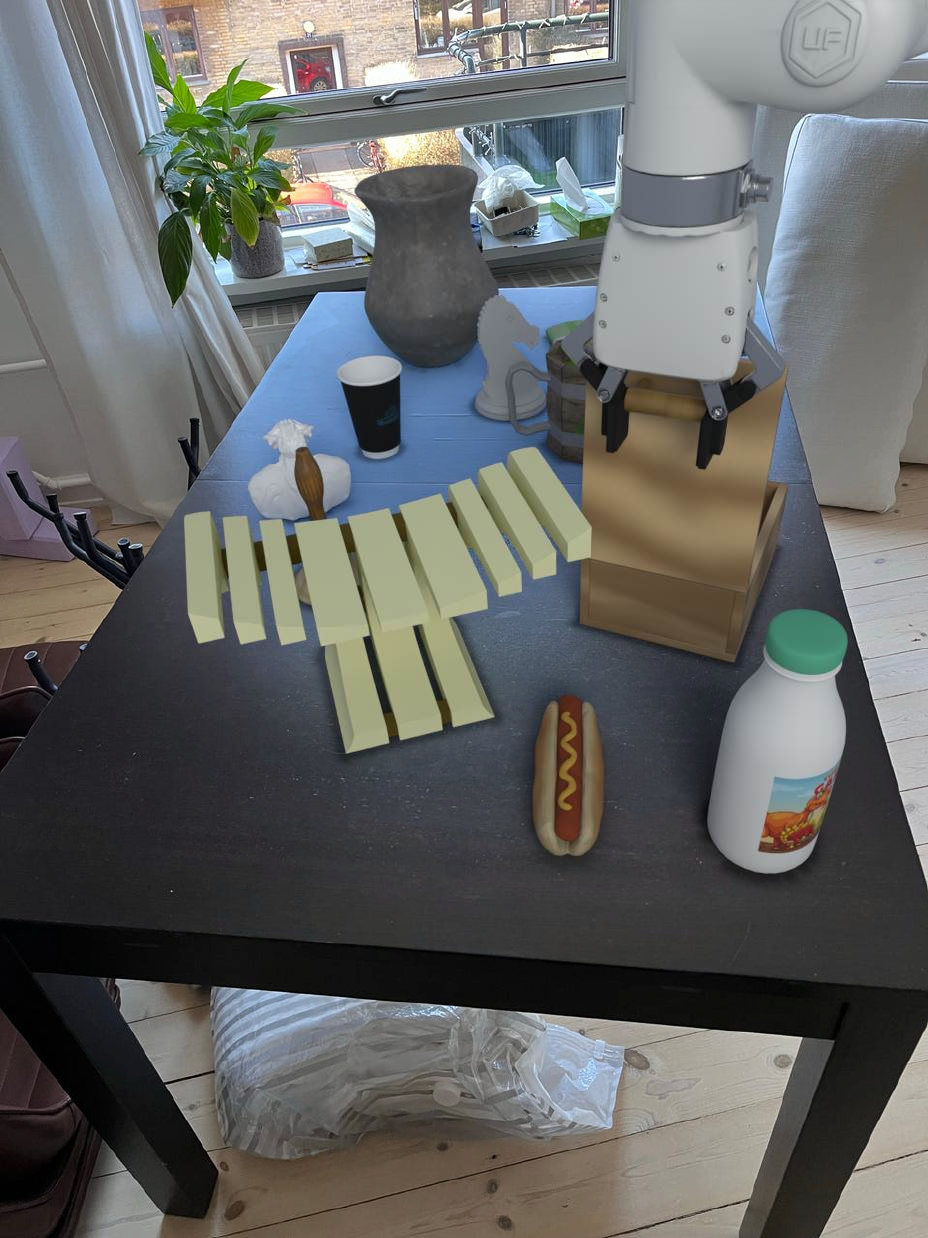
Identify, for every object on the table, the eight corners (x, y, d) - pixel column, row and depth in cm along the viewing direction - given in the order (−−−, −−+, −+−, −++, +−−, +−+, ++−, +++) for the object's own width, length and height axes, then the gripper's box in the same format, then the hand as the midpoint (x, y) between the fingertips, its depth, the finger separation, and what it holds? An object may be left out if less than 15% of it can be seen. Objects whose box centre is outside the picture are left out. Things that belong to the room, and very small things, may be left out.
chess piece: (556, 413, 118) (556, 302, 108) (485, 426, 117) (478, 314, 107) (534, 382, 126) (532, 276, 116) (467, 394, 124) (460, 287, 115)
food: (605, 871, 64) (608, 830, 61) (529, 868, 65) (528, 826, 62) (602, 729, 75) (604, 687, 71) (537, 727, 75) (536, 685, 72)
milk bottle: (709, 872, 64) (748, 671, 51) (702, 788, 69) (736, 588, 56) (821, 882, 62) (890, 678, 50) (805, 795, 68) (863, 592, 55)
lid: (591, 338, 68) (567, 362, 65) (789, 363, 63) (775, 390, 59) (582, 551, 80) (561, 581, 77) (748, 588, 75) (734, 622, 71)
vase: (395, 397, 125) (371, 209, 109) (357, 349, 139) (331, 176, 123) (522, 366, 130) (517, 182, 114) (473, 323, 144) (462, 153, 128)
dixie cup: (358, 433, 118) (346, 354, 110) (416, 434, 116) (407, 355, 109) (343, 464, 112) (328, 383, 105) (404, 466, 110) (394, 383, 103)
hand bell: (345, 615, 89) (318, 478, 78) (277, 597, 92) (242, 462, 81) (386, 568, 94) (364, 434, 84) (320, 552, 97) (292, 421, 87)
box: (638, 520, 98) (643, 458, 93) (776, 548, 92) (789, 483, 87) (579, 623, 85) (580, 557, 80) (734, 663, 80) (746, 594, 75)
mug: (626, 419, 115) (631, 330, 108) (638, 462, 107) (644, 368, 99) (506, 426, 116) (502, 338, 109) (508, 469, 108) (504, 377, 100)
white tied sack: (356, 509, 108) (333, 418, 107) (362, 501, 100) (337, 403, 99) (258, 531, 105) (234, 438, 105) (256, 525, 98) (230, 425, 97)
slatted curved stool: (529, 589, 90) (525, 431, 78) (586, 694, 78) (591, 526, 66) (233, 655, 85) (183, 498, 74) (245, 778, 73) (187, 613, 62)
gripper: (841, 184, 53) (790, 448, 65) (572, 169, 60) (570, 412, 72) (819, 221, 48) (768, 500, 60) (528, 201, 55) (533, 456, 67)
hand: (660, 450), depth 66 cm, fingers closed on lid, 6 cm apart
